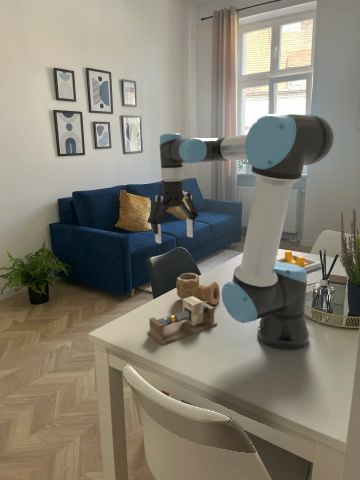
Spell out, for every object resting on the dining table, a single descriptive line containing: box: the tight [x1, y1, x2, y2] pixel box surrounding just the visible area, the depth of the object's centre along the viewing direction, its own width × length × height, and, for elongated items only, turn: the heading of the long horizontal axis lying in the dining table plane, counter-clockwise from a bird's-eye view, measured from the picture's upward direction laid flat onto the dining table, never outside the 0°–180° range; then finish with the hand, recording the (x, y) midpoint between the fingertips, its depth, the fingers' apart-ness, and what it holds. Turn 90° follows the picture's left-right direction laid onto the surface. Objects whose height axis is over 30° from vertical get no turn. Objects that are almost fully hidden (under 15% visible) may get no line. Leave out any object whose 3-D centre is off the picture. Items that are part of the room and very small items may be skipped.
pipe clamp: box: [284, 250, 308, 267], centre depth 173 cm, size 12×4×6 cm, turn 18°
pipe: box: [175, 272, 221, 305], centre depth 136 cm, size 9×16×10 cm, turn 71°
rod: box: [157, 305, 207, 326], centre depth 116 cm, size 18×3×3 cm, turn 124°
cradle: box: [147, 301, 218, 346], centre depth 117 cm, size 21×9×6 cm, turn 124°
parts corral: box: [276, 254, 322, 273], centre depth 173 cm, size 16×16×2 cm
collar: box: [182, 296, 204, 326], centre depth 118 cm, size 4×6×7 cm
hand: (174, 239), depth 131 cm, fingers open, 13 cm apart
